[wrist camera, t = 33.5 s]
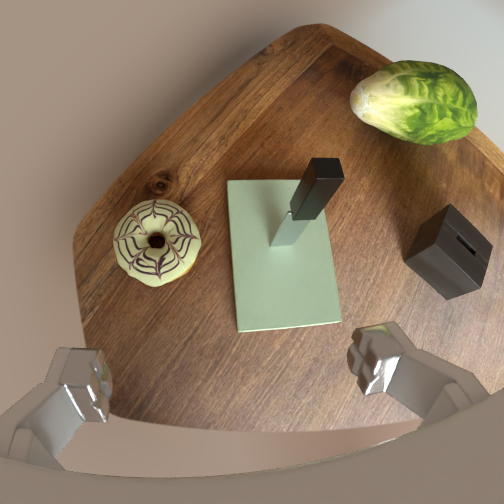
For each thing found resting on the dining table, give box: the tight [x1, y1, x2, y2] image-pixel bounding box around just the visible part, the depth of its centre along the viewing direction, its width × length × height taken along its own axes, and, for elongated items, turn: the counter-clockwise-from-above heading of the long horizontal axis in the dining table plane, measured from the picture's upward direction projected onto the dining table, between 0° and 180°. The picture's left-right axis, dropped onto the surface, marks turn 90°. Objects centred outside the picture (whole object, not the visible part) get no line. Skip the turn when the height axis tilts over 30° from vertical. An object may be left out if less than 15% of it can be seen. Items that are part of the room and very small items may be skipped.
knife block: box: [404, 204, 493, 300], centre depth 41 cm, size 8×10×8 cm
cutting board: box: [227, 180, 342, 332], centre depth 42 cm, size 20×13×1 cm, turn 5°
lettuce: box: [350, 60, 477, 146], centre depth 46 cm, size 15×27×16 cm, turn 105°
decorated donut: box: [113, 199, 201, 287], centre depth 38 cm, size 10×11×4 cm
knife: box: [270, 158, 345, 247], centre depth 33 cm, size 2×3×18 cm, turn 97°
